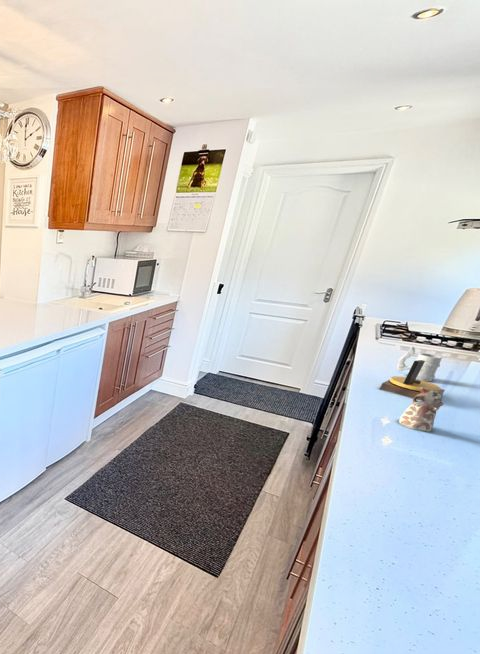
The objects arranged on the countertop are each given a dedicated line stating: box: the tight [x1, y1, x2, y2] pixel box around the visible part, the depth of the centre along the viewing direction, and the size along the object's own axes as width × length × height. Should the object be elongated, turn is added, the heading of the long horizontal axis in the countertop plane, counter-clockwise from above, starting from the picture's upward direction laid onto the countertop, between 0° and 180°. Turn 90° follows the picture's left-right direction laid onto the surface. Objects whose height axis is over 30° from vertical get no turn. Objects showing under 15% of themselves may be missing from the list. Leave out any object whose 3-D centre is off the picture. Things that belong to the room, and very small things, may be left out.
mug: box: [396, 346, 443, 382], centre depth 165 cm, size 8×12×12 cm, turn 39°
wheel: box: [389, 359, 442, 392], centre depth 147 cm, size 13×13×10 cm
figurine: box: [398, 388, 444, 433], centre depth 121 cm, size 7×7×12 cm
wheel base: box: [379, 379, 446, 401], centre depth 150 cm, size 14×14×2 cm
